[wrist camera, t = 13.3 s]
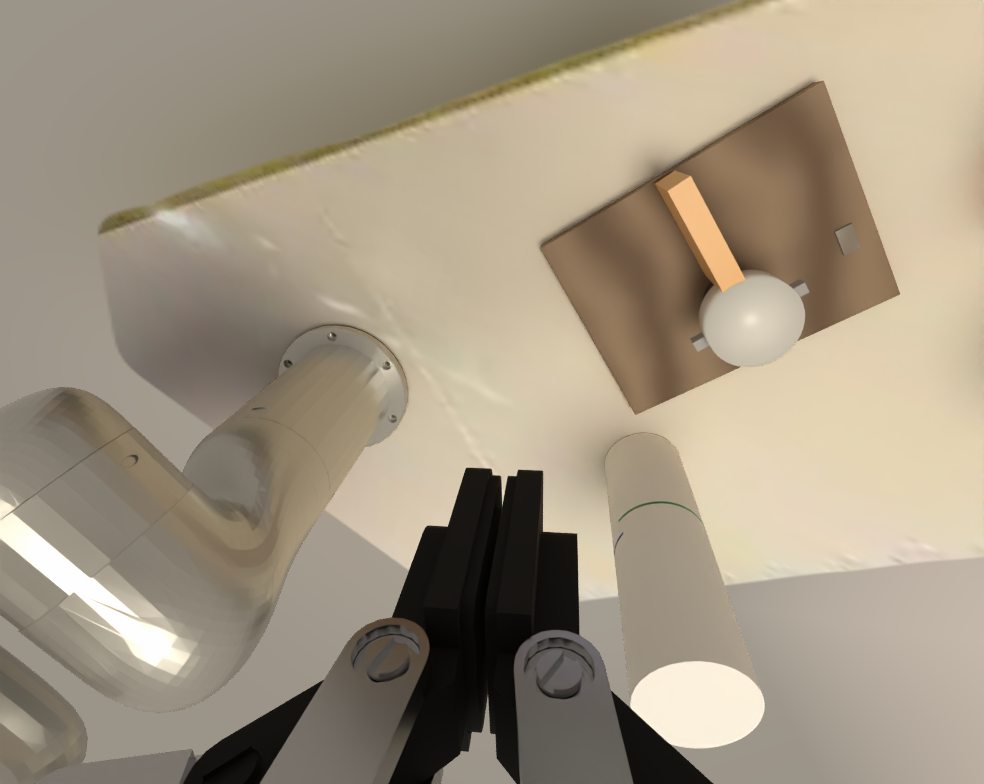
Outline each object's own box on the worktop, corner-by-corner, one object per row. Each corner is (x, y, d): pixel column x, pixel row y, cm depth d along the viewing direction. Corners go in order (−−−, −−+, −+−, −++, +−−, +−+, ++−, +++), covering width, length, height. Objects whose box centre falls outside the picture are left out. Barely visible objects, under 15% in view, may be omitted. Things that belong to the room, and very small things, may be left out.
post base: (633, 407, 51) (640, 436, 46) (541, 245, 46) (538, 258, 41) (890, 289, 44) (930, 308, 39) (814, 82, 39) (850, 74, 34)
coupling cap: (801, 306, 43) (833, 331, 38) (701, 359, 46) (719, 388, 40) (718, 142, 39) (741, 143, 34) (614, 210, 42) (621, 221, 36)
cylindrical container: (594, 483, 55) (611, 726, 32) (620, 423, 52) (660, 645, 29) (662, 505, 55) (728, 762, 32) (693, 446, 52) (789, 685, 29)
